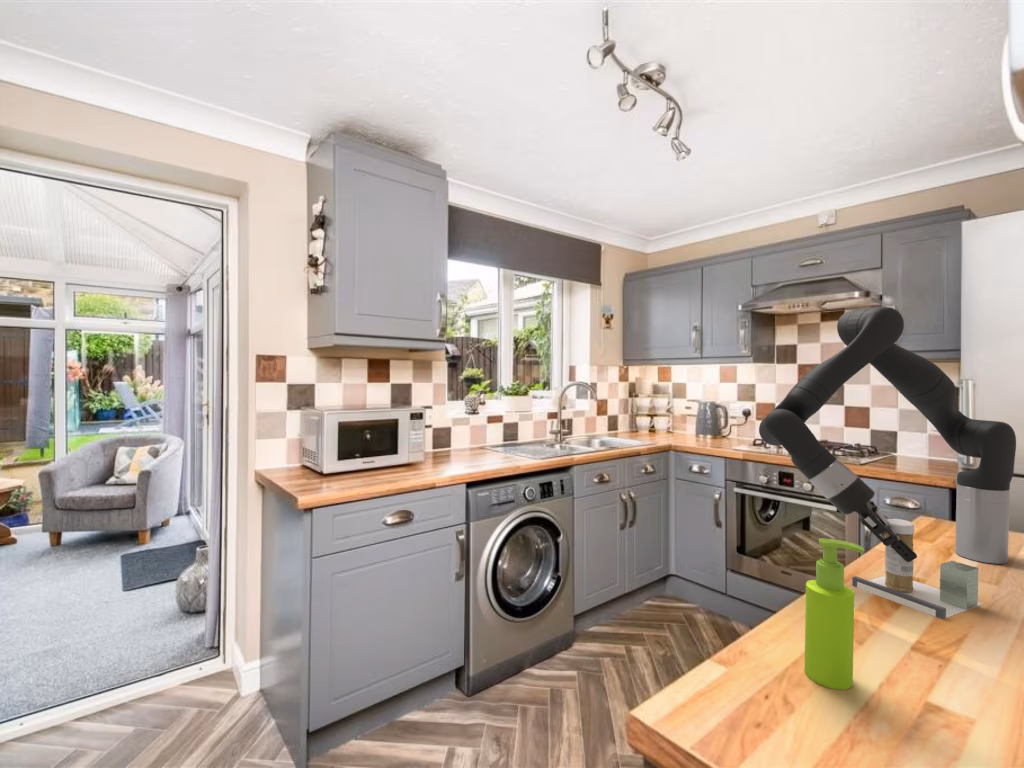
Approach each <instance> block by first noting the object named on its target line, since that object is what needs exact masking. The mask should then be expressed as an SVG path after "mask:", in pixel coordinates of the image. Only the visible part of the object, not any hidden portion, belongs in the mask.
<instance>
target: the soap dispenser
mask: <svg viewBox="0 0 1024 768" xmlns="http://www.w3.org/2000/svg"><path fill="white" fill-rule="evenodd" d="M818 545H819V547H823V550H822V558H820V559H818V560H817V559H816V563H815V566H816V567H815V579H810V580H807V581H806V582H805V613H804V614H805V616H804V617H805V621H804V622H805V624H804V627H805V628H804V630H805V631H804V639H805V640H804V673H805V675H806V676H807V677H808V678H809V679H810V680H812V681H813V682H815V683H816V684H818V685H821V686H823V687H825V688H829V689H834V690H838V691H839V690H840V691H841V690H848V689H851V688H852V687H853V683H854V682H853V681H854V680H853V679H854V674H853V673H854V635H855V634H854V632H855V631H854V627H855V592H854V591H853V589H852V588H850V587H849V586H847V585H845V580H844V579H845V566H844V564H843V563H841V562H839V561H838V549H843V550H849V551H853V552H855V553H859V554H863V553H864V552H865V549H864V546H861V545H859V544H857V543H853V542H850V541H846V540H840V539H835V538H833V539H832V538H821V537H819V538H818Z"/></svg>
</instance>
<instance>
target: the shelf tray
mask: <svg viewBox="0 0 1024 768" xmlns="http://www.w3.org/2000/svg"><path fill="white" fill-rule="evenodd" d="M851 577H852V579H851V580H852V582H851V583H852V584H851V586H853V587H855V588H857V589H860V590H863V591H865V592H867V593H871V594H873V595H876V596H879V597H881V598H884V599H887V600H889V601H892V602H893V603H896V604H897V603H898V604H900V605H903V606H906V607H908V608H911V609H913V610H916V611H919V612H921V613H923V614H926V615H929V616H932V617H934V618H938V619H941V620H945V619H947V618H950V617H952V616H955V615H958V614H961V613H964V612H966V611H968V610H971V609H973V608H975V607H973V608H970V609H968V610H965V609H962V608H959V607H956V606H954V605H951V604H948V603H945V602H942V601H940V588H936V587H934V586H931V585H929V584H925V583H922V582H919V581H916V580H913V591H912V592H899V591H896V590H893V589H890V588H888V587H887V586H886V585H885V581H886V575H882V576H879V577H876V578H873V579H869V580H868V579H865V578H863V577H860V576H857V575H854V576H851ZM982 605H984V603H982V602H980V601H978V606H977V607H979V606H982Z"/></svg>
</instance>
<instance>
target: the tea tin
mask: <svg viewBox="0 0 1024 768" xmlns="http://www.w3.org/2000/svg"><path fill="white" fill-rule="evenodd" d="M939 565H940V569H939V570H940V572H939V574H940V575H939V589H940V601H942V602H945V603H948V604H951V605H954V606H956V607H959V608H962V609H965V610H966V611H968V609H969V610H971V609H973V607H974V608H976V607H979V606H978V602H979V570H980V569H979V567H975V566H972V565H969V564H965V563H961V562H959V561H958V562H957V561H954V560H950V561H945V562H943V563H940V564H939ZM970 608H971V609H970Z"/></svg>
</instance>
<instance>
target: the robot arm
mask: <svg viewBox="0 0 1024 768" xmlns="http://www.w3.org/2000/svg"><path fill="white" fill-rule="evenodd" d="M836 325H837V326H836V329H837V334H838V337H839V339H840V340H841V341H842V342H843V343H844V345H845V347H844V348H843V349H841V350H840V351H838V352H837V353H835V354H834V355H833V356H831V357H829V358H828V359H826V360H824V361H822V362H821V363H819V364H818V365H816V366H814V367H813V368H811V369H810V370H809V371H808V372H807V373H805V374H804V376H802V377H801V378H800V379H799V380H798V381H797V383H795V385H794V386H793V387H792V388H791V389H790V390H789V392H788V393H787V394H786V396H785V397H784V399H782V401H780V403H779V404H778V405H776V406H775V407H774V408H773V409H772V410H771V411H770V412H768V413H767V415H765V417H764V418H763V419H762V420H761V422H760V424H759V427H758V434H759V435H760V438H761V439H762V441H764V442H765V443H766V444H768V445H771V446H782V447H783V448H784V449H785V450H786V451H787V452H788V454H789V455H790V457H791V458H790V459H791V462H792V464H793V465H794V466H795V467H796V469H797V470H798V471H800V473H802V474H803V475H804V476H805V477H806V478H807V479H808V480H809V481H810V482H811V483H812V485H813V486H814V487H815V489H816V490H817V491H818V492H819V493H821V495H822V496H823V497H824V498H825V499H826V500H828V501H829V502H830V503H831V504H832V505H833V506H834V507H835V508H836V509H837V510H838V512H839V513H841V514H842V515H845V516H848V515H850V514H852V513H854V512H856V513H857V515H858V516H859V521H860V523H861V525H863V526H865V528H867V529H868V530H869V531H870V532H871V533H872V534H873V535H874V536H875V537H876V538H877V539H878V540H879V541H880V542H881V543H882V544H883V545H884V546H885V545H886V546H889V547H890V546H891V547H892V548H893V549H894V550H895V551H896V552H897V553H898V554H899V555H900V556H901V557H902V558H903V559H904V560H905V561H906V562H910V561H912V560H916V559H917V557H918V556H917V555H918V554H917V553H916V552H915V551H913V550H914V549H913V550H912V549H911V548H910V547H908V546H907V545H906V544H905V543H904V542H903V541H902V540H901V539H900V537H899V536H898V535H897V534H896V533H895V532H894V531H893V529H894V527H893V526H892V525H891V524H890V523H889V522H888V521H887V519H891V518H890V517H889V516H888V514H887V513H884V510H882V508H881V507H879V506H878V505H876V503H875V502H874V501H872V499H873V498H874V497H875V491H874V490H873V489H872V488H871V487H870V486H869V485H868V484H867V483H865V482H864V481H863V480H862V479H861V478H860V477H859V476H858V475H857V474H856V473H855V472H853V470H851V469H850V468H849V467H848V466H847V465H846V464H845V463H842V461H840V460H839V459H838V458H836V456H834V454H833V453H831V452H830V451H829V450H828V449H827V448H826V447H824V446H823V444H821V443H820V442H819V440H818V439H817V438H816V436H815V435H814V433H813V432H812V431H811V429H810V428H809V427H808V425H807V424H806V422H807V421H808V420H809V419H810V418H811V417H812V416H813V415H815V414H816V413H817V412H818V411H819V410H820V409H821V408H822V407H823V406H824V405H825V404H826V403H827V402H828V401H829V400H830V399H831V398H832V397H833V396H834V394H835V393H836V392H837V391H838V390H840V389H841V387H842V386H843V385H844V384H845V383H846V382H848V381H849V380H850V379H852V378H853V376H855V375H856V374H857V373H858V372H860V371H861V370H862V369H864V368H865V367H866V366H867V365H869V364H870V365H871V366H872V367H873V368H874V369H875V370H876V371H878V372H879V373H880V375H881V376H882V377H884V379H886V380H887V381H888V382H889V383H890V384H891V385H892V386H893V387H894V388H895V389H896V390H897V391H898V392H899V393H900V394H901V395H902V397H904V399H906V400H907V401H908V402H909V403H910V404H911V405H913V406H914V407H915V408H916V409H917V411H919V412H920V413H921V414H922V416H923V417H925V419H926V420H928V422H929V423H931V424H932V426H933V428H935V430H936V431H937V432H938V433H939V435H940V436H941V437H942V438H943V440H944V441H945V442H946V444H948V446H949V447H950V448H951V449H952V450H953V451H954V452H956V453H958V454H959V455H962V456H966V457H971V458H975V459H976V458H978V459H980V461H979V465H978V467H975V468H973V469H969V470H962V471H960V472H959V471H958V473H957V474H956V499H955V501H956V503H955V504H956V505H955V507H956V509H955V542H954V543H955V545H954V546H955V547H954V548H955V549H954V551H955V553H956V554H957V555H958V556H960V557H963V558H966V559H969V560H972V561H976V562H977V561H978V562H982V563H985V564H986V563H987V564H993V565H995V564H997V565H999V564H1001V565H1003V564H1008V562H1009V530H1010V529H1009V528H1010V527H1009V525H1010V489H1011V488H1010V486H1011V482H1012V479H1013V477H1014V473H1015V472H1014V471H1015V460H1016V451H1017V437H1016V433H1015V430H1014V429H1013V427H1012V426H1011V425H1010V424H1008V423H1007V422H1004V421H996V420H985V419H975V418H970V417H968V416H966V415H965V414H964V413H963V412H961V411H960V410H959V409H958V407H956V405H955V404H956V400H957V387H956V385H955V383H954V381H953V380H952V379H951V378H950V377H949V376H948V375H947V374H946V373H945V372H944V370H942V369H941V368H940V367H939V366H938V365H936V364H935V363H934V362H932V361H930V360H929V359H927V358H925V357H923V356H921V355H919V354H916V353H915V352H912V351H910V350H908V349H906V348H904V347H902V346H900V345H898V344H897V343H896V342H897V341H898V340H899V339H900V338H901V336H902V335H903V332H904V328H905V327H904V326H905V323H904V317H903V316H902V314H901V312H899V311H898V310H897V309H896V308H893V307H889V306H888V307H887V306H877V307H876V306H873V307H864V308H863V307H862V308H856V309H855V308H854V309H851V310H849V311H846V312H845V313H843V314H842V315H840V317H839V318H838V321H837V324H836ZM886 533H888V534H889V535H890V536H889V537H887V538H886Z"/></svg>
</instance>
